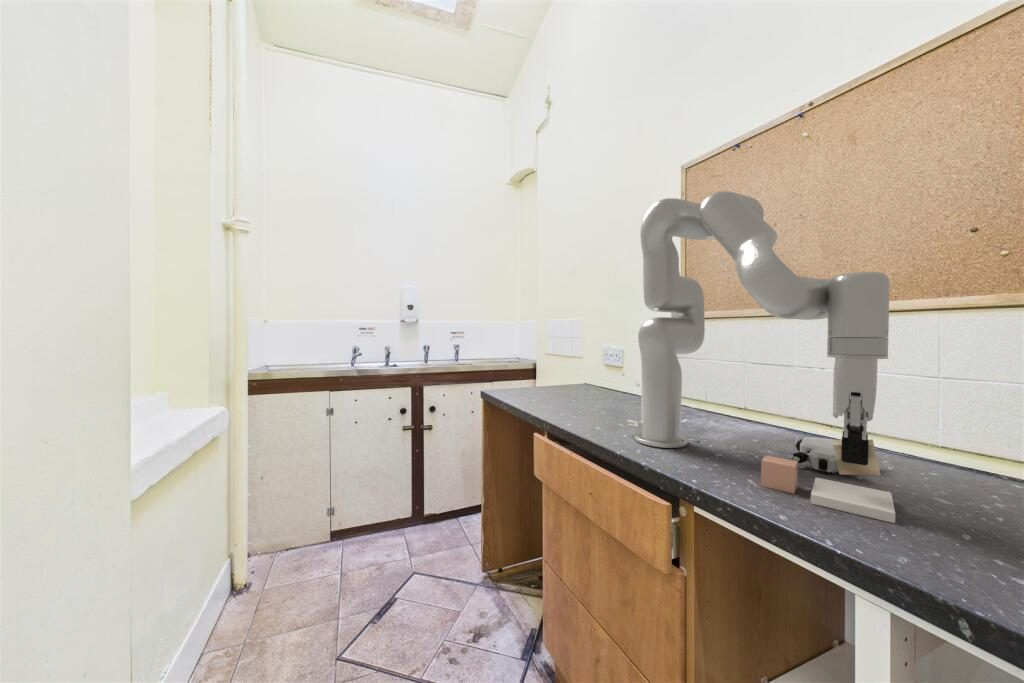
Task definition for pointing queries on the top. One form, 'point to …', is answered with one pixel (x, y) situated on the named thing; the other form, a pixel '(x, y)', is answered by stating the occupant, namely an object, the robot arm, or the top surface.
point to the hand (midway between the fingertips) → (854, 458)
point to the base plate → (853, 499)
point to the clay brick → (779, 474)
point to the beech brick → (857, 469)
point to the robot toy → (816, 453)
